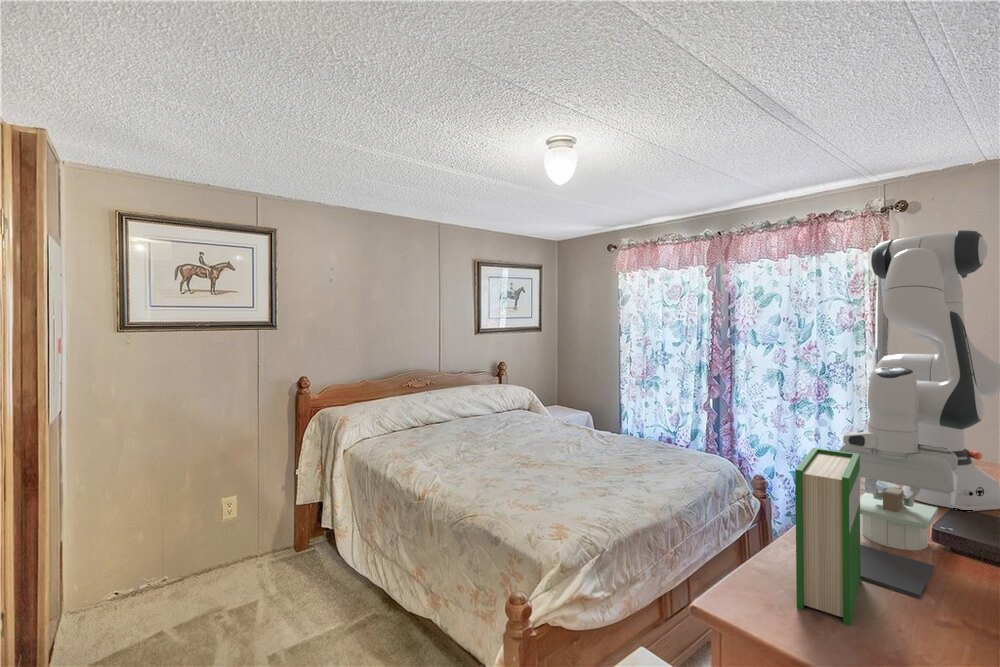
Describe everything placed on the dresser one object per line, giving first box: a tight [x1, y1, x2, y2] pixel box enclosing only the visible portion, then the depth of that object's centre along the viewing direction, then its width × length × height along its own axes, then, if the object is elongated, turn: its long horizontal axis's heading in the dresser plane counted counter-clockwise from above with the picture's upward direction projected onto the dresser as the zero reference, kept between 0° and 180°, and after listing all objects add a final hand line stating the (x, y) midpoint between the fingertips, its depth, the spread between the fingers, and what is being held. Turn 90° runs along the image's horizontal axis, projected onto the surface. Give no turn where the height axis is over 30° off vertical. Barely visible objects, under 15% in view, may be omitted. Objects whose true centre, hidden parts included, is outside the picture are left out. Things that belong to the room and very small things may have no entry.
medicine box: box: [864, 478, 903, 494], centre depth 117 cm, size 8×4×9 cm, turn 168°
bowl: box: [861, 514, 928, 551], centre depth 106 cm, size 11×11×6 cm
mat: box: [860, 543, 936, 599], centre depth 94 cm, size 15×15×1 cm
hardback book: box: [794, 447, 862, 627], centre depth 85 cm, size 18×7×24 cm, turn 138°
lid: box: [860, 487, 939, 531], centre depth 106 cm, size 13×13×4 cm
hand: (893, 502), depth 106 cm, fingers open, 4 cm apart
